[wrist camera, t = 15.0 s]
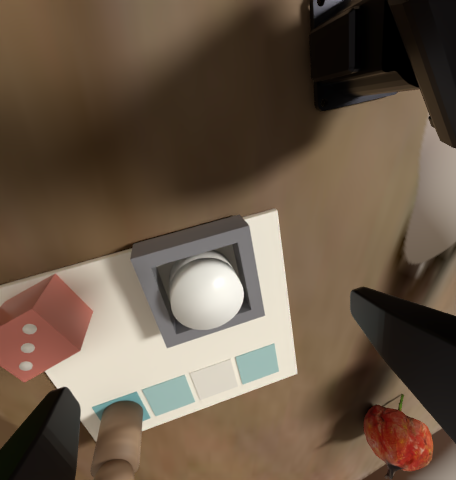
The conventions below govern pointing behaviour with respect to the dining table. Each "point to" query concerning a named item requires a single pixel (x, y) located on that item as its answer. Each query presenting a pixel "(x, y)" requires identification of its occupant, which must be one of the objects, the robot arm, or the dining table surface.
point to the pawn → (118, 442)
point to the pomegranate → (398, 439)
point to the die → (41, 327)
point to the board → (153, 346)
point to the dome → (204, 290)
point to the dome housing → (188, 245)
